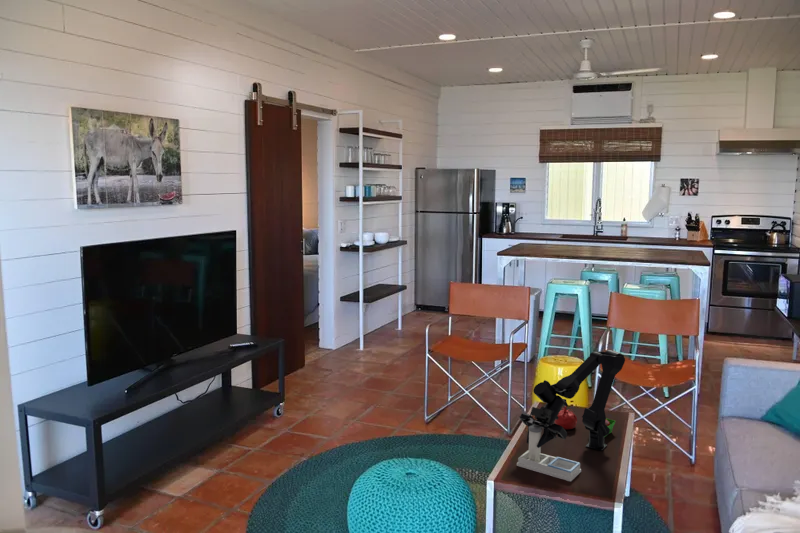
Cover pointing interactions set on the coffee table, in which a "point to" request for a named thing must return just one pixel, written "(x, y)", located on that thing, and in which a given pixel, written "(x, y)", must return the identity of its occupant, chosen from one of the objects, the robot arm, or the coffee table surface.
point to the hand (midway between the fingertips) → (532, 445)
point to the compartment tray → (551, 466)
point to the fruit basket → (609, 424)
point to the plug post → (534, 443)
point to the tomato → (566, 419)
